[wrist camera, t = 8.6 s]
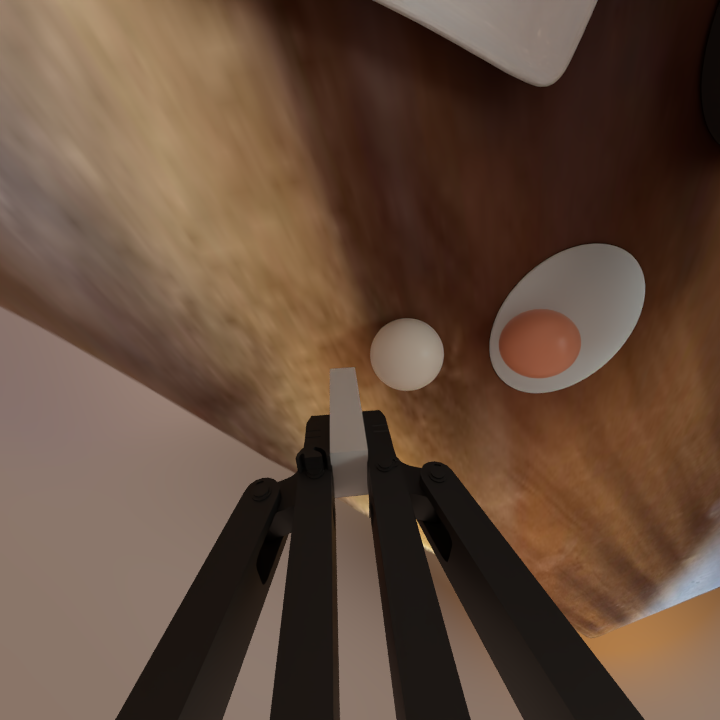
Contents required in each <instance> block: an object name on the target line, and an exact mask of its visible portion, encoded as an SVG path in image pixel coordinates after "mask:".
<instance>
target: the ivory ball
mask: <svg viewBox="0 0 720 720" xmlns="http://www.w3.org/2000/svg"><path fill="white" fill-rule="evenodd" d="M370 360H371V365H372V367H373V370H374V372H375V373H376V375H377V376H378V378H379V379H380V380H381V381H382V382H383V383H385V384H386V385H388V386H389V387H391V388H394V389H397V390H402V391H412V390H417V389H420V388H422V387H424V386H426V385H428V384H429V383H431V382H432V381H433V380H434V379H435V377H436V376H437V375H438V373H439V372H440V370H441V367H442V364H443V360H444V349H443V344H442V342H441V339H440V337H439V336H438V334H437V333H436V331H435V330H434V329H433V328H432V327H431V326H429V325H428V324H426V323H425V322H423V321H420V320H417V319H412V318H402V319H397V320H394V321H392V322H390V323H388V324H386V325H385V326H384V327H382V328H381V329H380V330H379V332H378V333H377V334H376V336H375V337H374V339H373V342H372V345H371V350H370Z"/></svg>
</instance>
